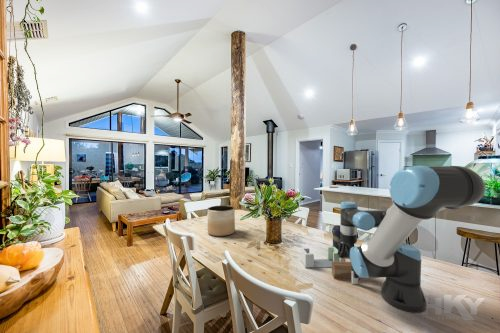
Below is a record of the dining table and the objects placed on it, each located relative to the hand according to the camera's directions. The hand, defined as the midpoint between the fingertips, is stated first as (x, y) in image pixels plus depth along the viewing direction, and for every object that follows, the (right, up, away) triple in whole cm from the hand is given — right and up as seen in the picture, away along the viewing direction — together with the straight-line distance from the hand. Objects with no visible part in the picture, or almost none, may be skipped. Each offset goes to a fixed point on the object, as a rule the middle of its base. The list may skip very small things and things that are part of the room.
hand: (348, 276), depth 108 cm
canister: (+7, 0, +27) cm, 28 cm away
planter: (-72, +1, +69) cm, 100 cm away
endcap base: (-9, 0, +14) cm, 17 cm away
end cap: (-1, +1, +14) cm, 14 cm away
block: (-2, 0, 0) cm, 2 cm away
